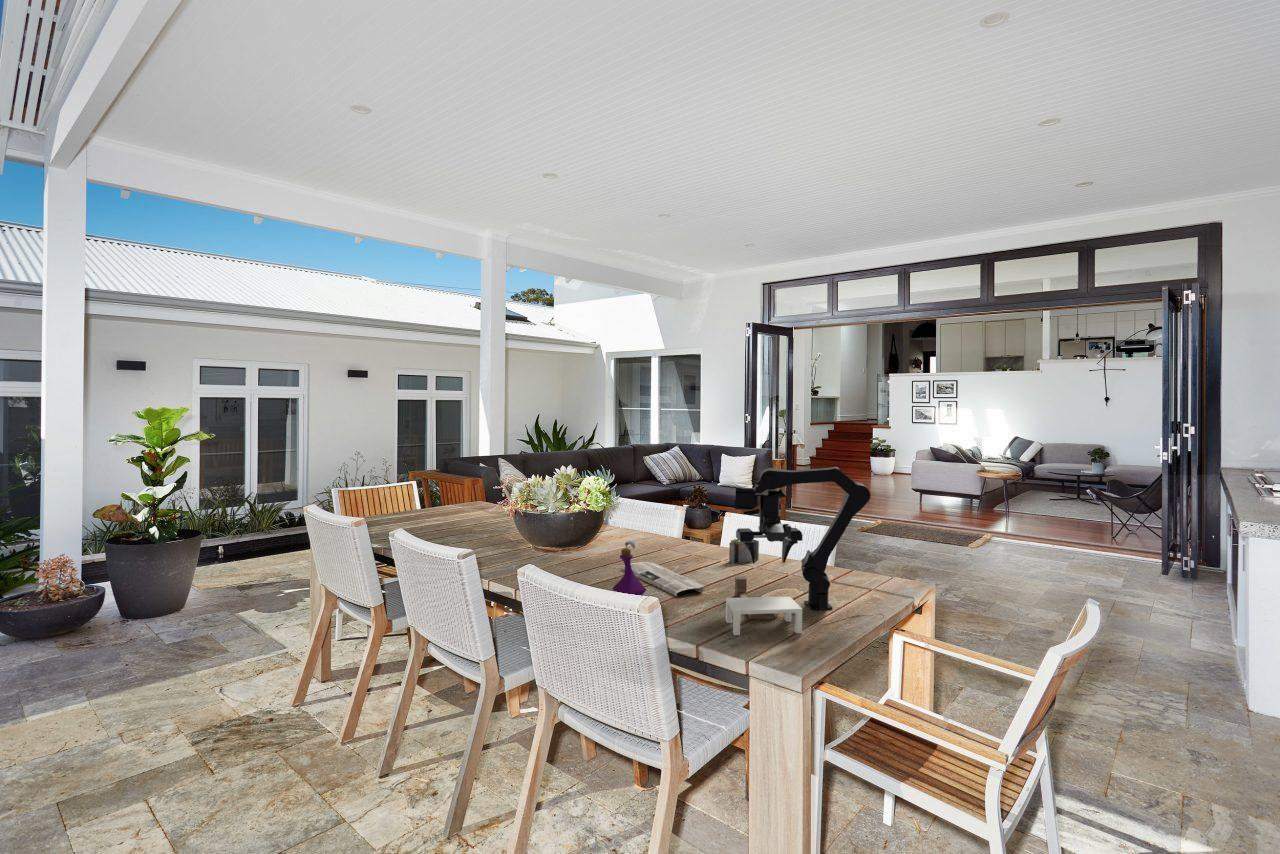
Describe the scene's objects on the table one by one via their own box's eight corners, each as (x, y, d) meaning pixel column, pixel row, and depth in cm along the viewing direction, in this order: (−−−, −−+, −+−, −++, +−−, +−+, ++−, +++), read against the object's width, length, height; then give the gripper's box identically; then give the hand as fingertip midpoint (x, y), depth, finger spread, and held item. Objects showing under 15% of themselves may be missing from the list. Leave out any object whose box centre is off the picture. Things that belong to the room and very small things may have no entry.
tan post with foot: (734, 595, 200) (735, 576, 199) (758, 595, 200) (758, 576, 200) (747, 619, 179) (747, 597, 179) (774, 619, 180) (774, 597, 179)
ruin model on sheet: (734, 565, 235) (734, 538, 234) (729, 563, 238) (729, 537, 237) (759, 561, 240) (759, 535, 239) (754, 559, 243) (754, 534, 242)
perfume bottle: (611, 598, 196) (612, 540, 194) (631, 593, 200) (631, 536, 199) (627, 605, 190) (627, 545, 189) (646, 600, 195) (647, 541, 194)
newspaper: (621, 571, 227) (621, 561, 226) (651, 566, 233) (651, 556, 233) (678, 600, 197) (678, 588, 196) (711, 593, 203) (711, 582, 203)
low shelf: (725, 621, 178) (725, 598, 177) (789, 619, 179) (789, 596, 179) (734, 635, 168) (734, 610, 167) (801, 633, 169) (802, 608, 169)
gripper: (745, 517, 182) (744, 571, 183) (809, 516, 184) (808, 570, 185) (735, 509, 193) (735, 560, 194) (796, 508, 195) (795, 559, 196)
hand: (768, 563), depth 192 cm, fingers open, 9 cm apart
